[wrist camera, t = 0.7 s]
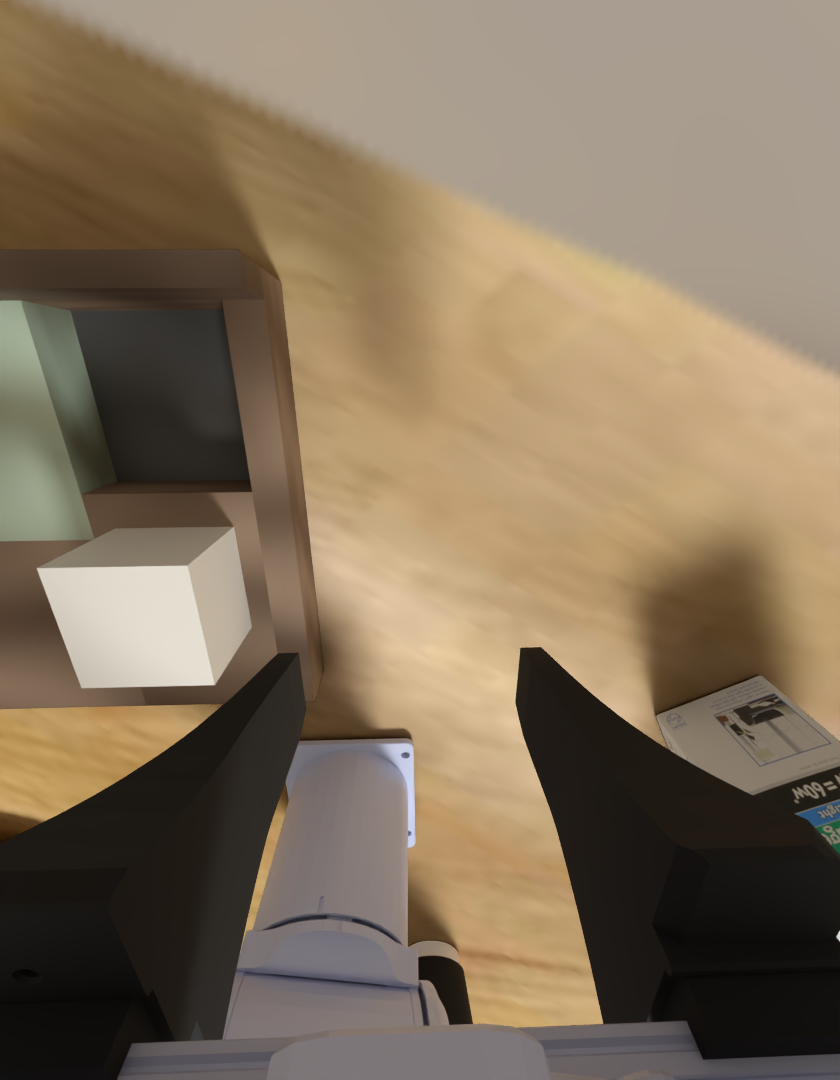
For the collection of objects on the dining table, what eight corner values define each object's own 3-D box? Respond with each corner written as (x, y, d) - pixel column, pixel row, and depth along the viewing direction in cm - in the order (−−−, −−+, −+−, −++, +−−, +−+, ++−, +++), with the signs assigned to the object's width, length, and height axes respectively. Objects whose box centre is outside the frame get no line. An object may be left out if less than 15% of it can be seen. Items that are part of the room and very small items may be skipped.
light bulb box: (651, 712, 25) (810, 931, 15) (761, 668, 24) (1009, 871, 14) (694, 817, 29) (847, 1051, 19) (793, 783, 28) (1009, 1010, 18)
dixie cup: (489, 934, 33) (525, 1183, 23) (462, 988, 36) (484, 1231, 26) (392, 923, 32) (384, 1176, 22) (372, 979, 35) (357, 1227, 25)
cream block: (251, 627, 20) (214, 685, 16) (144, 629, 19) (81, 688, 16) (234, 526, 18) (187, 565, 14) (115, 528, 18) (36, 568, 14)
